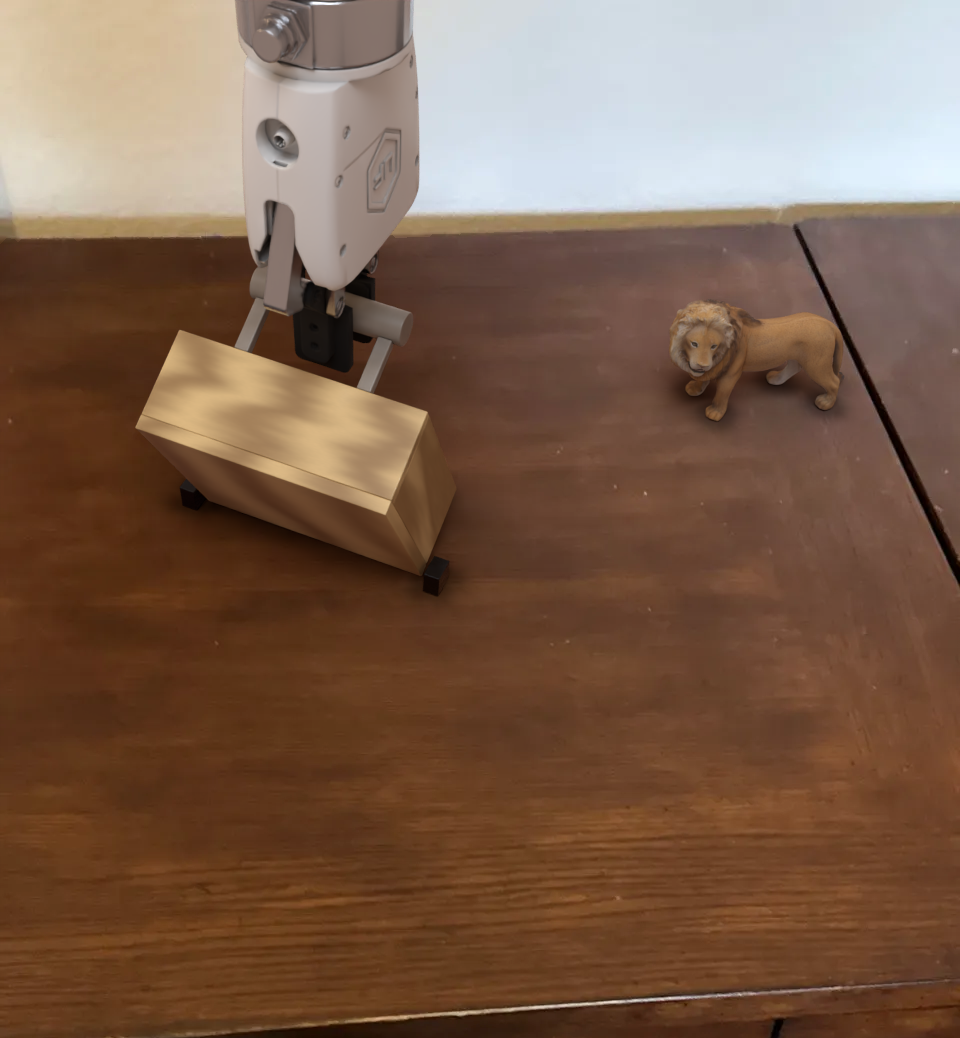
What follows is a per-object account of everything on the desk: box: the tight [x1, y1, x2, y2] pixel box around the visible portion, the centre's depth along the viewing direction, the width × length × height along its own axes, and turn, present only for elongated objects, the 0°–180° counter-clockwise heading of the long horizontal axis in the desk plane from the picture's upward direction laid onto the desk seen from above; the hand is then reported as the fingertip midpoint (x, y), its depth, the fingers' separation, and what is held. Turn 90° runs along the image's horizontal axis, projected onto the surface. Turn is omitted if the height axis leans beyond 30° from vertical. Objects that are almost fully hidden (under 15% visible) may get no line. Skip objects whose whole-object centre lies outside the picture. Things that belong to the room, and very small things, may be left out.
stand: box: [179, 478, 450, 597], centre depth 75 cm, size 17×2×2 cm, turn 68°
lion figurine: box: [668, 298, 845, 422], centre depth 83 cm, size 15×5×9 cm, turn 110°
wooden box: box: [134, 266, 458, 577], centre depth 70 cm, size 14×13×11 cm
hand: (335, 346), depth 68 cm, fingers closed on wooden box, 2 cm apart
